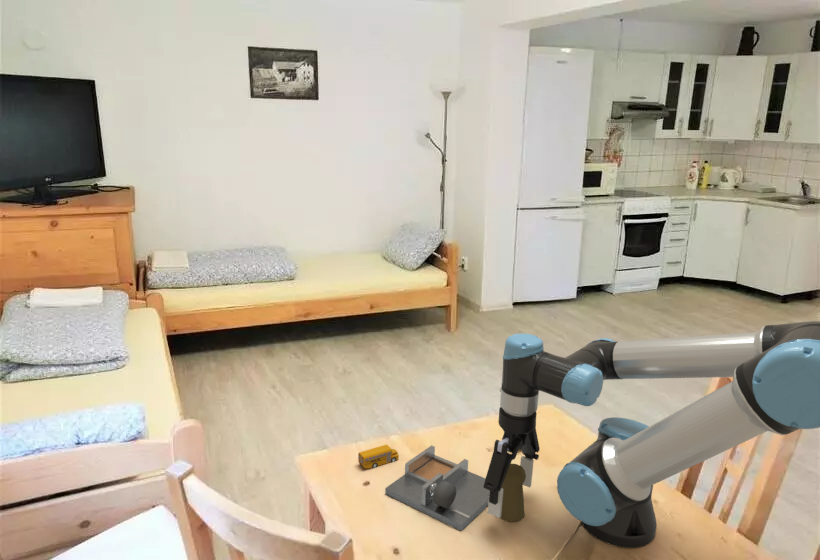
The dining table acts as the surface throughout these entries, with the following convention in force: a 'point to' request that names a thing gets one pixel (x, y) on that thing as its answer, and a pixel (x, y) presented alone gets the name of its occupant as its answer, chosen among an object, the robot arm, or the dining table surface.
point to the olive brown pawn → (513, 494)
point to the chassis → (424, 480)
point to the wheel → (445, 494)
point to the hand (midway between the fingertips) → (510, 499)
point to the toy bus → (377, 456)
